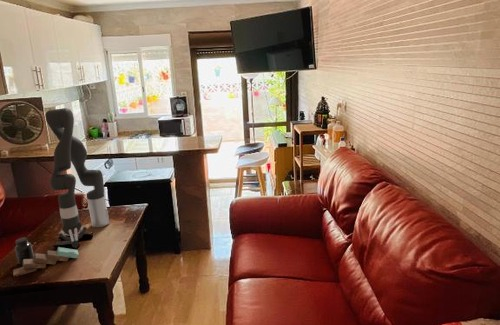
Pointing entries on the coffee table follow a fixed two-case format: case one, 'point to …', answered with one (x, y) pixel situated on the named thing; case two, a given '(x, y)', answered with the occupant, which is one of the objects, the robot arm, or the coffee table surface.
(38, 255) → the domino
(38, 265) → the domino
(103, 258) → the coffee table surface
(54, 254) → the domino
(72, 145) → the robot arm
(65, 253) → the domino
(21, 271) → the domino
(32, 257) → the supplement bottle
